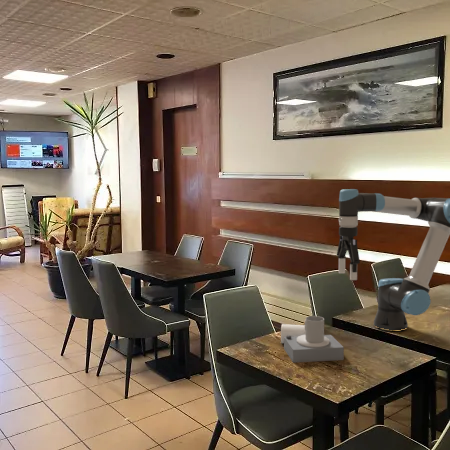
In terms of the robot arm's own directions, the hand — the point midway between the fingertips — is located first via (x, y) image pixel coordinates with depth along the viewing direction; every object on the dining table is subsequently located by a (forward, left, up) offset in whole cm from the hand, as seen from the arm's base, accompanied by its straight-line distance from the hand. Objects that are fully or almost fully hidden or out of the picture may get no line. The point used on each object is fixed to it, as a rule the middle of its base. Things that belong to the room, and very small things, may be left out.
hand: (347, 276), depth 205 cm
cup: (+18, +11, -23) cm, 31 cm away
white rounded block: (+22, -5, -29) cm, 37 cm away
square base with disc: (+18, +11, -29) cm, 36 cm away
